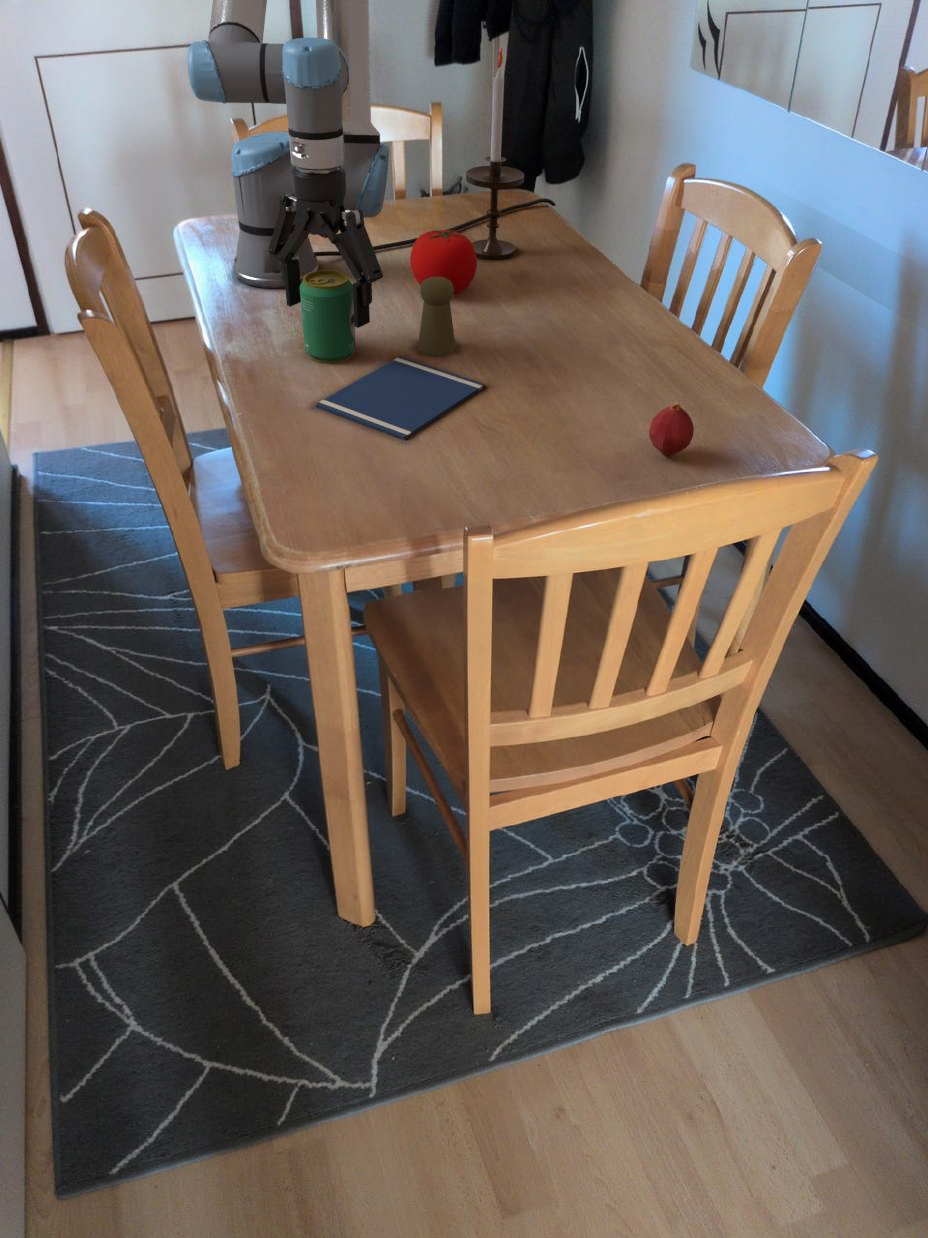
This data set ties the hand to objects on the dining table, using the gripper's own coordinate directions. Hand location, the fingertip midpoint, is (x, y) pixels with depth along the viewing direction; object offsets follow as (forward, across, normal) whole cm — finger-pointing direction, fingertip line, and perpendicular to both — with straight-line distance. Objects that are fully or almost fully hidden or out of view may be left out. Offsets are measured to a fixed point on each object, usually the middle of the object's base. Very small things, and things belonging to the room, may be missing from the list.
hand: (327, 313), depth 153 cm
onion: (+7, +57, +3) cm, 57 cm away
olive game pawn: (+7, +12, +12) cm, 18 cm away
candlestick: (+6, -5, +54) cm, 55 cm away
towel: (+7, +18, -5) cm, 20 cm away
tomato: (+6, -1, +32) cm, 33 cm away
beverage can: (+7, 0, 0) cm, 7 cm away
